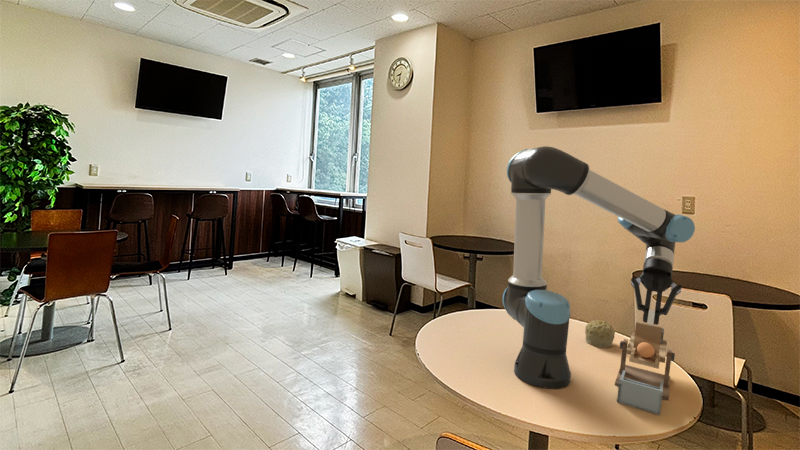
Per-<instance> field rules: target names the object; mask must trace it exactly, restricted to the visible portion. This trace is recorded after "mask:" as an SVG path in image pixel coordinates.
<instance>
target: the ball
mask: <svg viewBox="0 0 800 450" xmlns="http://www.w3.org/2000/svg"><path fill="white" fill-rule="evenodd" d="M637 352H638V354H639V355H640V356H642V357H644V358H650V357H652V356H653V355H654V352H655V350H654V347H653V346H652V345H651V344H649V343H647V342H642V343H640V344H639V345H638V346H637Z"/></svg>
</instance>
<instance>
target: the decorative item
mask: <svg viewBox="0 0 800 450" xmlns="http://www.w3.org/2000/svg"><path fill="white" fill-rule="evenodd" d="M584 332H585V341H586V343H587V344H588V345H591V346H594V347H598V348H602V349H605V348H607V349H608V348H610V347H612V344H613V342H614V339H615V334H616V332H615V329H614V327H613V326H612V325H611V323H609V322H608V321H606V320H599V319H598V320H592V321H590V322H588V323H587V324H586V325H585V331H584Z"/></svg>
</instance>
